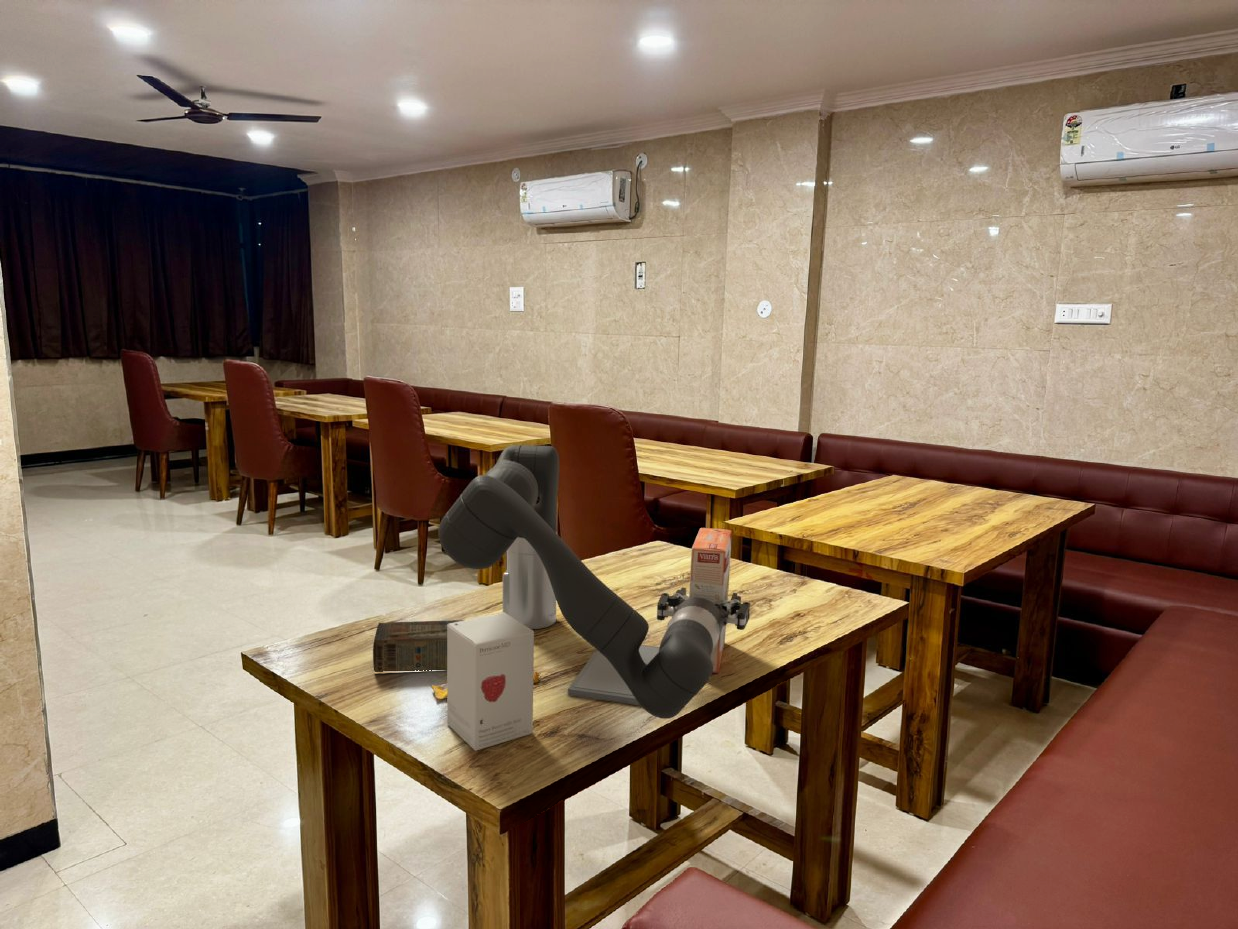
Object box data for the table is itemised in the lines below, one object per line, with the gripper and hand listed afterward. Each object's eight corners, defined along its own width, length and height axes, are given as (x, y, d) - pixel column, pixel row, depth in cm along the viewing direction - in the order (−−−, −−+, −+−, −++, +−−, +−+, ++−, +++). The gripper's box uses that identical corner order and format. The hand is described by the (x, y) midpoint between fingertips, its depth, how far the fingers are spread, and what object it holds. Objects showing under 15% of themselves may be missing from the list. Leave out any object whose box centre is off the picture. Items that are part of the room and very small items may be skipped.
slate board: (645, 706, 120) (645, 699, 120) (567, 695, 123) (567, 688, 123) (671, 654, 139) (671, 648, 139) (603, 645, 142) (603, 639, 142)
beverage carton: (495, 670, 131) (495, 632, 130) (371, 678, 128) (370, 638, 126) (493, 651, 139) (493, 614, 138) (376, 657, 135) (375, 620, 134)
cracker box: (721, 675, 131) (727, 550, 127) (684, 671, 132) (689, 547, 129) (727, 642, 145) (733, 528, 141) (693, 639, 146) (698, 525, 142)
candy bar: (533, 675, 131) (533, 664, 130) (543, 685, 127) (543, 674, 127) (429, 693, 123) (429, 682, 123) (436, 705, 120) (436, 693, 119)
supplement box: (474, 753, 106) (473, 644, 103) (445, 725, 113) (444, 622, 110) (535, 734, 111) (536, 630, 109) (504, 708, 118) (504, 610, 116)
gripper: (645, 649, 122) (666, 612, 137) (741, 661, 118) (751, 622, 134) (647, 601, 120) (668, 569, 136) (743, 612, 117) (754, 578, 132)
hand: (709, 595), depth 135 cm, fingers open, 8 cm apart
